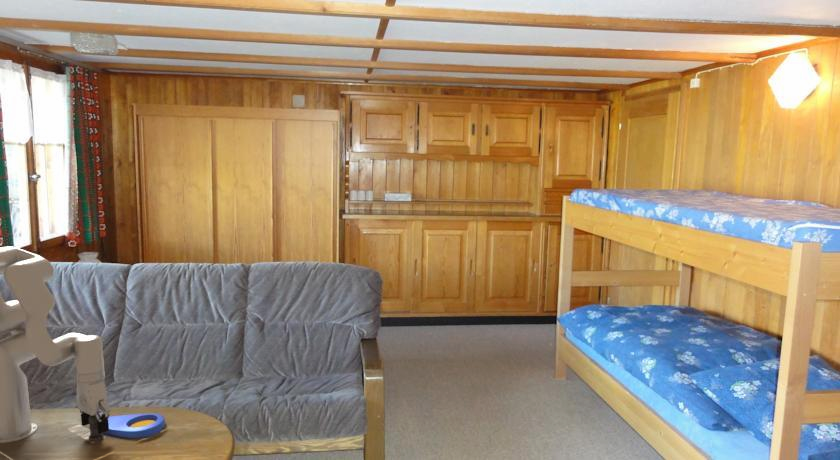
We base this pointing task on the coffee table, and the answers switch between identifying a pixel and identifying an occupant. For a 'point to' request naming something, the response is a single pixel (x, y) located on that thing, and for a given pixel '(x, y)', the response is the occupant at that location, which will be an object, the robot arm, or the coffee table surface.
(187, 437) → the coffee table surface
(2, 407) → the robot arm
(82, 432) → the board
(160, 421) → the location marker
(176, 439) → the coffee table surface
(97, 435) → the pawn
